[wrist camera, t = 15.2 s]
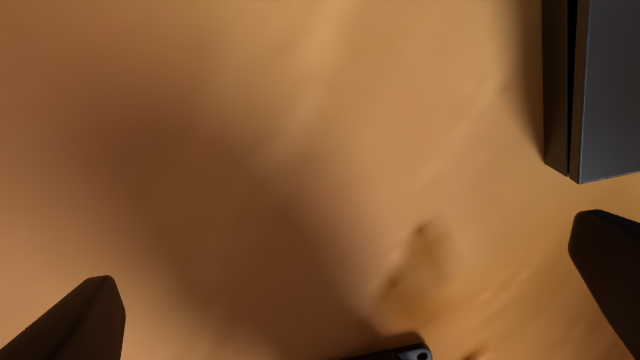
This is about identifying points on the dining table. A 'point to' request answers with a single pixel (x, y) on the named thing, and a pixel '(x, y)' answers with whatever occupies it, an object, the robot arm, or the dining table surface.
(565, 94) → the laptop
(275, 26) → the dining table surface
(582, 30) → the laptop screen
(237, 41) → the dining table surface
